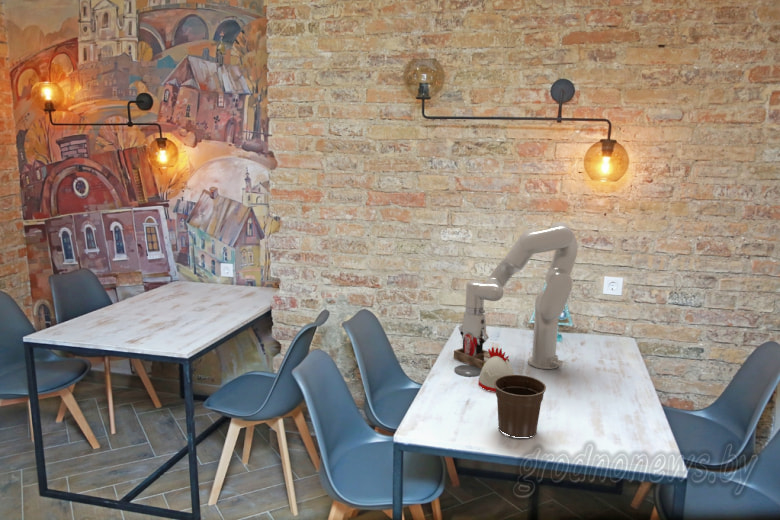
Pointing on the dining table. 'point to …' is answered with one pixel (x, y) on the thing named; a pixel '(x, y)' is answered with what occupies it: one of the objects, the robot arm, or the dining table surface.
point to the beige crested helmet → (494, 369)
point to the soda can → (470, 345)
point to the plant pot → (519, 404)
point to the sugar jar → (486, 356)
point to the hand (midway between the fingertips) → (472, 349)
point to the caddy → (470, 358)
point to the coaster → (467, 370)
